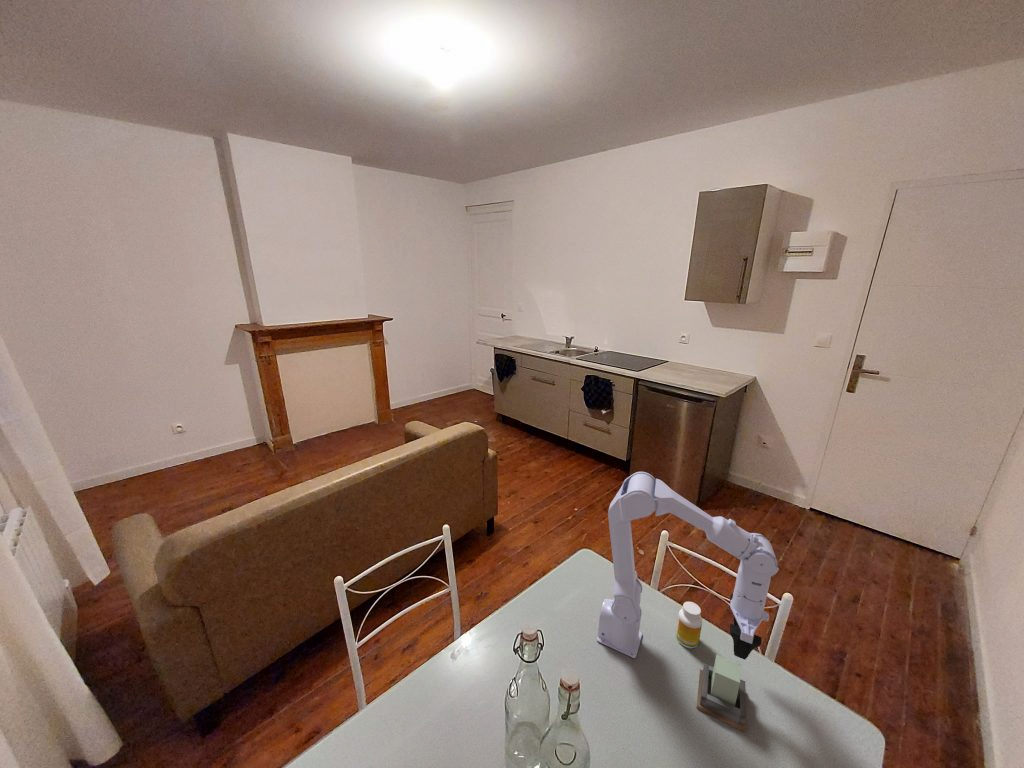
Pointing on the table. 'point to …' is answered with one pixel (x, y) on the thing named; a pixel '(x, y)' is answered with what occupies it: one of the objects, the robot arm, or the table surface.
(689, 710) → the table surface
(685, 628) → the supplement bottle
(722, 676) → the peg
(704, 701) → the grey square socket
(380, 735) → the table surface
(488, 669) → the table surface
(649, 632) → the table surface
